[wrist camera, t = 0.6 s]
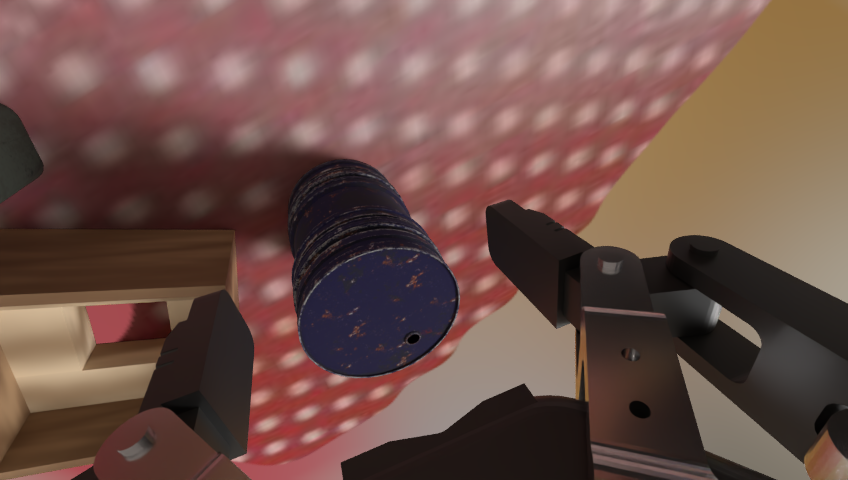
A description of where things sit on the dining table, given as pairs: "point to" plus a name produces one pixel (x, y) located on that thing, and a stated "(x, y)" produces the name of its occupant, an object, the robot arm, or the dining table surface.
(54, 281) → the peg box
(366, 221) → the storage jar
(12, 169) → the candle
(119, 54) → the dining table surface
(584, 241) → the robot arm
